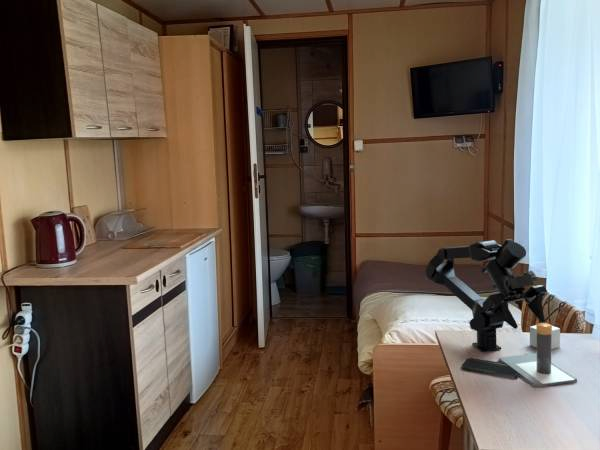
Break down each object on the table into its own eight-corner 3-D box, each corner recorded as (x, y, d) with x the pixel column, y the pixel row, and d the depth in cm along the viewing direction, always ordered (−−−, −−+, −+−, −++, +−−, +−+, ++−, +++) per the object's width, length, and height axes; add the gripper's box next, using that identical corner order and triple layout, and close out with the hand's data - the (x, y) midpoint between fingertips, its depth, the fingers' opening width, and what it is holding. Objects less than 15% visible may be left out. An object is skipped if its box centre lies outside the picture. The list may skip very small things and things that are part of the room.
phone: (467, 357, 156) (522, 366, 148) (467, 361, 156) (522, 369, 148) (460, 367, 149) (516, 376, 141) (460, 371, 149) (516, 380, 141)
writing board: (498, 360, 154) (498, 357, 154) (536, 355, 156) (536, 352, 156) (535, 387, 136) (535, 384, 136) (578, 382, 138) (578, 379, 137)
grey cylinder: (533, 370, 144) (533, 325, 142) (541, 367, 146) (542, 322, 144) (545, 375, 141) (546, 328, 139) (554, 371, 142) (555, 325, 141)
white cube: (529, 345, 164) (529, 326, 163) (543, 341, 166) (543, 323, 166) (546, 351, 159) (546, 332, 158) (560, 347, 161) (560, 328, 160)
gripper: (488, 267, 145) (517, 317, 137) (542, 257, 151) (573, 305, 142) (471, 287, 154) (497, 336, 145) (523, 277, 160) (551, 323, 151)
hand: (530, 325), depth 146 cm, fingers open, 9 cm apart
